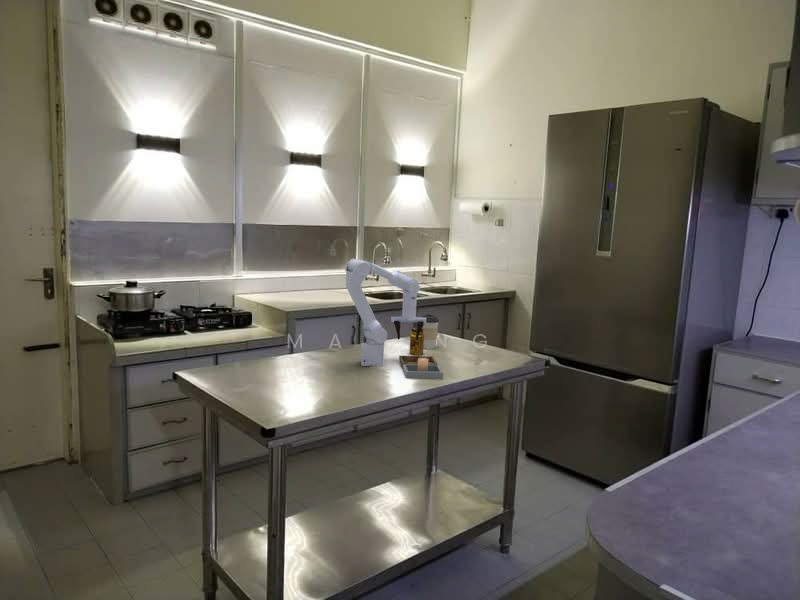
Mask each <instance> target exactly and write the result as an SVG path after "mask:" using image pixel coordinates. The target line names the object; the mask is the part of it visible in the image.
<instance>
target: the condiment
mask: <svg viewBox="0 0 800 600" xmlns="http://www.w3.org/2000/svg"><path fill="white" fill-rule="evenodd" d="M423 347H424V335H423V329H421V331H420V334H419V337H418V340H416V327H412V328H411V331H410V336H409V355H410V356H424V355H428V353H427V352H424V348H423ZM423 354H424V355H423Z"/></svg>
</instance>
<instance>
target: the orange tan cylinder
mask: <svg viewBox="0 0 800 600" xmlns="http://www.w3.org/2000/svg"><path fill="white" fill-rule="evenodd" d="M417 372H428V359H427V358H418V366H417Z"/></svg>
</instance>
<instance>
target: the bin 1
mask: <svg viewBox="0 0 800 600" xmlns="http://www.w3.org/2000/svg"><path fill="white" fill-rule="evenodd" d="M398 358H399V360H398V362H399V364H400V366H401V367H400V368H401V370H403V364H418V358H427V359H428V365H439V363H438V362H437V361H436V359H435V358H434V356H432V355H431V356H429V355H428V356H427V355H420V356H416V355H399V356H398Z"/></svg>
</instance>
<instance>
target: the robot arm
mask: <svg viewBox="0 0 800 600" xmlns="http://www.w3.org/2000/svg"><path fill="white" fill-rule="evenodd" d="M344 271H345V288H346V289H347V291H348V293H349V296H350V298H351V300H352V302H353V304H354V306H355V308H356V310H357V313H358V314H359V316H360V318H361V321H362V323H363V325H362V328H363V335H364V337H365V339H366V341H365V342H361V346H360V356H359V359H360V360H359V361H360V365H361V367H371V366H386V365H385V361H384V356H385V355H384V354H385V353H384V351H385V342H386V341H387V339H388V332H387V330H386V329H384V328H383V327H382V324H381V323H380V322H379V321H378V320H377V318H376V317H375V316H376V315H375V314H374V312H373V310H372V308H371V306H370V303H369V301H368V299H367V297H366V295H365V293H364V290H363V289H362V284H363V282H364V281H365V280H366V278H367V277H368V276H369V275H373V274H374V275H377V276H378V277H381V278H384V279H387V281H388V283H389V284H390V285H392V286H394V287H397V288H399V289H400V290H402V291H403V292H402V293H403V295H402V309H401V311H402V312H401V316H391V318H390V322H391V323H393V325H394V328H395V332H396V335H397V337H396V338H397V340H400V339H401V332H400V331H401V323H416V327H415V328H416V340H418V337H419V334H420V331H421V329H422V327H423V326H424V324H423V323H426V318H422V316H421V317H420V316H417V304H418V303H417V302H418V301H417V298H418V292H419V291H420V290H421V286H420V283H419V281H418V280H417V279H414V278H411V276H410V275H407V274H406V275H405V274H403V273H402V271H400V270H392V271H389V270H388V269H386V268H383V267H381V266H380V265H378V264H376V263H372V262H368V261H367V260H361V259H357V258H351V259H349V260H348V261H347V264H346V265H345V268H344Z"/></svg>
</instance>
